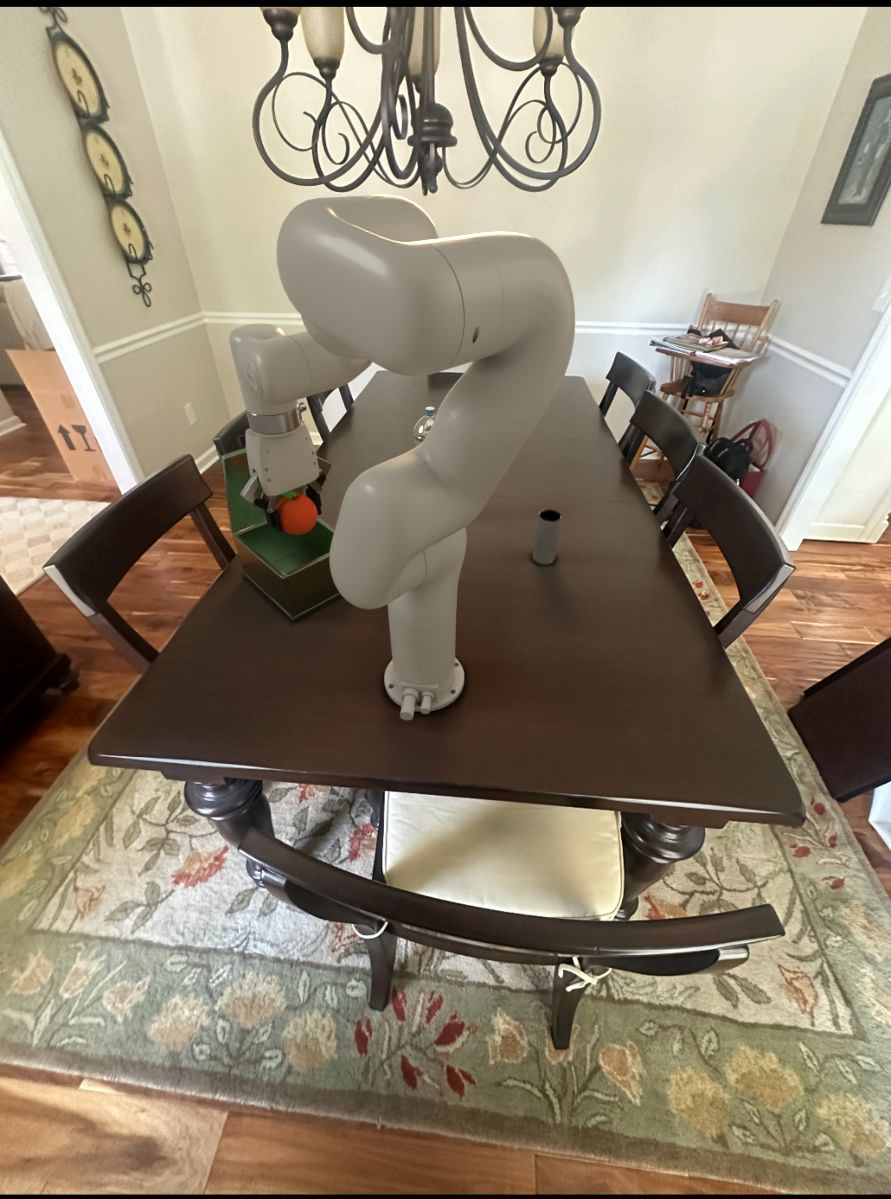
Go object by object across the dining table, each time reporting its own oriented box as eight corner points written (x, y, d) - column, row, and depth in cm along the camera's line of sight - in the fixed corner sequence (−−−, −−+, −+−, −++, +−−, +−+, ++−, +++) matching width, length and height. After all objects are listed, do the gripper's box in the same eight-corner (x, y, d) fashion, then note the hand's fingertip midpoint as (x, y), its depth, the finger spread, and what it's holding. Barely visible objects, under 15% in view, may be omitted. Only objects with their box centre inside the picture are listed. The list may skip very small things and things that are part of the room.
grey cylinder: (551, 567, 104) (558, 523, 97) (529, 561, 106) (535, 518, 99) (557, 554, 107) (564, 512, 100) (536, 549, 109) (542, 507, 102)
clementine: (267, 531, 89) (257, 495, 85) (297, 514, 94) (289, 479, 89) (299, 547, 86) (290, 510, 81) (328, 528, 90) (322, 492, 86)
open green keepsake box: (360, 585, 99) (355, 543, 93) (293, 622, 92) (282, 578, 85) (309, 546, 109) (301, 505, 102) (245, 576, 101) (231, 534, 95)
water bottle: (437, 528, 115) (436, 417, 98) (410, 520, 117) (406, 410, 101) (451, 514, 119) (453, 405, 103) (426, 506, 122) (424, 399, 105)
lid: (306, 431, 87) (289, 412, 88) (223, 458, 79) (206, 437, 80) (302, 505, 102) (287, 487, 103) (232, 534, 94) (217, 514, 96)
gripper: (310, 397, 83) (326, 494, 95) (207, 426, 74) (239, 530, 86) (337, 410, 79) (350, 510, 91) (232, 443, 70) (261, 549, 82)
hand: (296, 519), depth 88 cm, fingers closed on clementine, 7 cm apart
